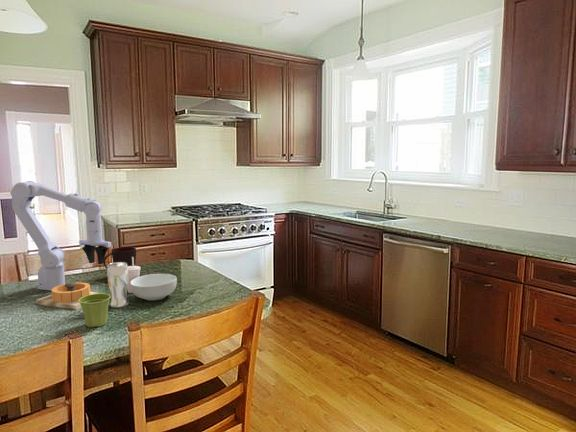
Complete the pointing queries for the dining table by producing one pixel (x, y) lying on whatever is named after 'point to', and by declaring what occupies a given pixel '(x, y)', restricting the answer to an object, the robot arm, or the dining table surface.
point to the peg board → (69, 305)
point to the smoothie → (132, 274)
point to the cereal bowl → (153, 286)
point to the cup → (122, 255)
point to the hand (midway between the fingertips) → (96, 263)
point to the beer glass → (118, 283)
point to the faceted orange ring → (70, 292)
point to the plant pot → (95, 309)
